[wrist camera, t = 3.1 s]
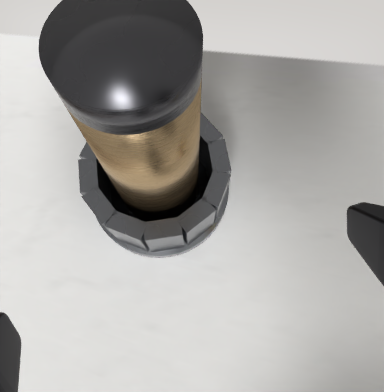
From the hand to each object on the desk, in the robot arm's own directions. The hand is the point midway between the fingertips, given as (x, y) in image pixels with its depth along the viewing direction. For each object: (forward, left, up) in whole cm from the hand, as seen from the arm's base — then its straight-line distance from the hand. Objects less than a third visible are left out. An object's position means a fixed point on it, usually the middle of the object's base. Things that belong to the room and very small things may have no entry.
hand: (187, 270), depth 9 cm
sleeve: (+6, +4, -13) cm, 15 cm away
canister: (+6, +4, -12) cm, 15 cm away
